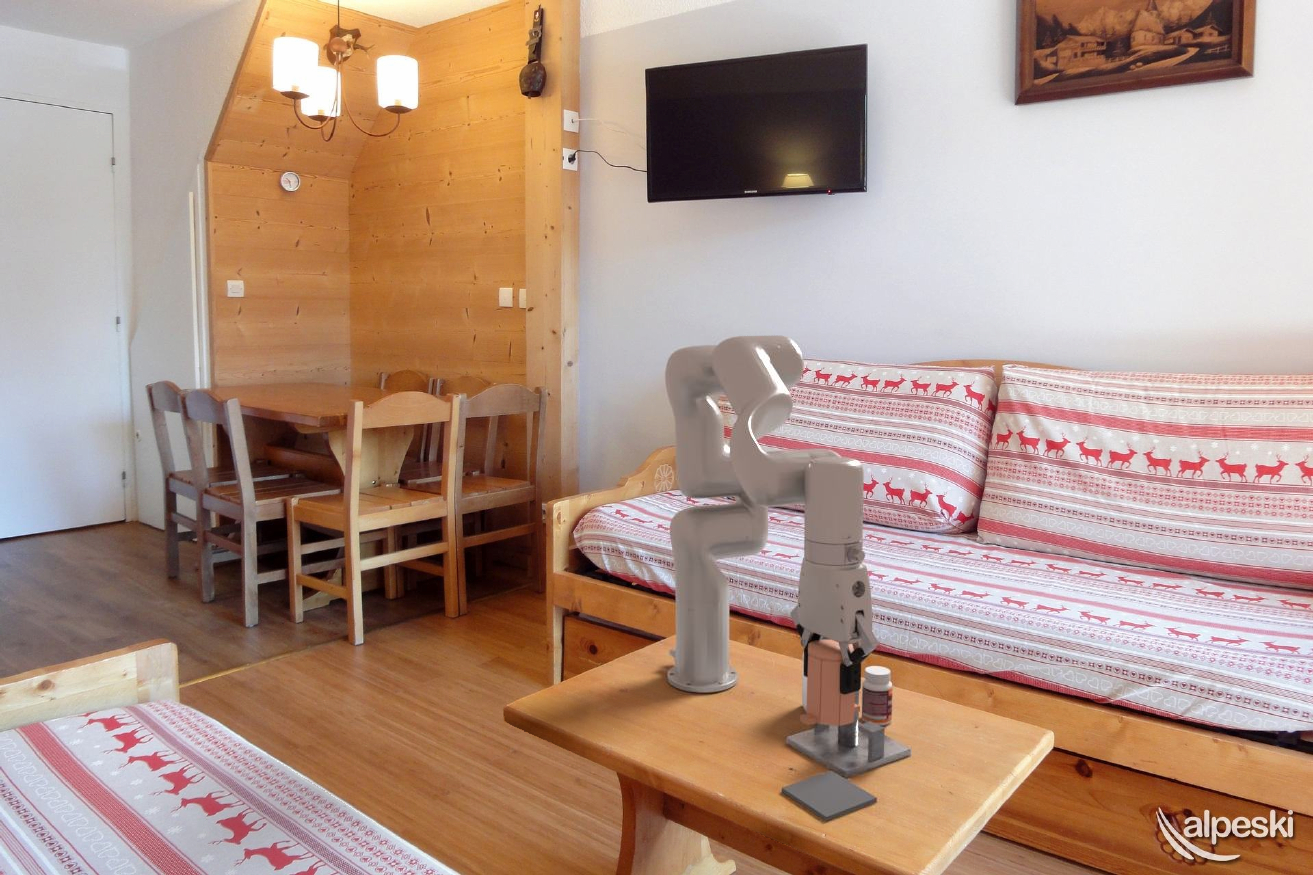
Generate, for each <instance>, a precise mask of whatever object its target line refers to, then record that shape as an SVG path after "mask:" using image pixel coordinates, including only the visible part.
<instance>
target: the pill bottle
mask: <svg viewBox="0 0 1313 875" xmlns="http://www.w3.org/2000/svg"><path fill="white" fill-rule="evenodd" d="M893 691H894V690H893V684H892V682H891V670H890V669H889V668H888V667H884V666H881V665H879V666H878V665H871V666H867V667H865V669H864V679H863V681H861V719H862V721H863V722H864V723H867V722H870V721H871V722H873V723H875V724H877V725H879V726H881V727H883V726H887V725H889V724H890V723H891V722H892V719H893V718H892V716H893V715H892V714H893Z"/></svg>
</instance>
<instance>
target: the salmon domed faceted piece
mask: <svg viewBox="0 0 1313 875" xmlns="http://www.w3.org/2000/svg"><path fill="white" fill-rule="evenodd" d="M849 649H850V653H852V652H853V651H854V649H853V645H852V644H849ZM843 663H844V662H843V658H842V654H841V650H840V647H839V643H838V642H836V641H833V640H816V641H813V642H810V643H809V644H808V679H807V713H804V714H799V716H800V717H799V721H800V722H802V723H803V724H805V725H807V726H811V725H814V724H815V723H818V724H824V725H834V726H842V725H845V724H849V723H853V722H854V713H857V712H859V713H860V712H861V705H860V704H859V705H857V704H855V692H852V693H849V694H845V695H844V694H841V693H840V664H843Z"/></svg>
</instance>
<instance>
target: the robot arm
mask: <svg viewBox="0 0 1313 875" xmlns="http://www.w3.org/2000/svg"><path fill="white" fill-rule="evenodd" d="M804 364H805V363H804V356H803V354H802V351H801V349H800V347H799V346H798V344H797V343H796V342H795V341H794V340H793V339H791V338H790V337H787V336H785V335H739V336H732V337H729V338H726V339H724V340H721V342H719V343H718V344H712V345H711V344H710V345H707V344H706V345H693V346H692V345H691V346H686V347H682V348H679V349H678V350H675V351H674V352H672V354H670V356H669V357H668V359H667V362H666V366H665V373H664V376H665V377H664V380H665V381H664V382H665V389H666V393H667V396H668V400H669V403H670V407H671V409H672V413H673V417H674V426H675V463H676V465H675V466H676V467H675V468H676V479H677V486H678V489H679V491H680V493H681V494H682V495H683V496H685V497H686V498H690V499H696V500H697V499H700V500H701V499H702V500H703V499H717V498H718V499H719V498H730V497H734V500H735V501H734V502H735V503H734V502H733V503H726V504H707V505H699V506H698V505H696V506H691V507H687V508H684V509H681V510H679V511H678V512H677V513H676V514H674V515H673V517H672V518H671V521H670V523H669V539H670V544H671V549H672V557H673V562H674V563H673V565H674V576H675V577H674V578H675V581H674V583H675V648H671V649H670V650H669V652H668V654H669V656H670V657H672V658H674V666H672V667H671V668H670V669H668V671H667V677H666V678H667V682H668V683H669V684H670V685H671V686H673V687H674V688H676V689H679V690H681V691H685V692H691V693H698V694H699V693H701V694H702V693H704V694H706V693H707V694H708V693H716V692H722V691H725V690H728V689H730V688H732V687H734V686H735V685H736V684H737V683H738V678H739V675H738V674H739V673H738V671H737V670H736V669H735V668H733V667H732V666H731V665H730V585H729V582H728V578H727V577H726V575H725V574H724V572H723V571H722V570H721V569H720V568H719V567H718V566H717V561H719V560H724V559H733V558H741V557H742V558H743V557H748V556H755V555H757V554H759V553H761V552H762V551H763V550H764V549H765V547H766V545H767V543H768V537H769V536H768V535H769V511H768V509H769V508H772V507H783V506H784V507H785V506H793V505H794V506H795V505H804V519H803V520H804V526H803V529H804V530H803V531H804V532H803V534H804V536H803V537H804V538H803V540H804V542H803V543H804V545H803V550H804V552H803V555H804V556H803V558H802V561H801V562H802V563H801V567H800V573H799V579H798V580H799V581H798V589H797V591H798V592H797V605H795V607H794V608H793V609H792V610H791V611H790V617H791V619H792V620H793V622H794V626H795V627H796V631H797V633H798V635H799V637H800V645H801V647H802V648H803V652H804V676H805V677H808V644H809V643H810V642H813V641H816V640H822V638H823V637H826V638H828V639H831V640H833V641H836V642H838V643H839V647H840V650H841V654H842V658H843V662H844V663H843V664H840V693H841V694H844V695H845V694H849V693H852V692H856V691H859V692H860V690H862V663H865V661H866V659H867V658H868V657H869V656H870V654H871V653H872V652H873V651H874V650H875V649H876V648H877V647H879V641H878V639H877V637H876V636H875V634H874V632H873V604H872V602H873V601H872V590H871V583H870V582H871V581H870V578H869V572H868V569H867V565H865V564H864V563H863V561H864V559H865V558H866V552H865V551H863V542H864V541H863V536H864V535H863V534H864V532H863V530H864V528H863V525H864V523H863V522H864V479H865V476H864V473H865V471H864V468H863V465H862V463H861V462H860V461H859V460H857V459H855V458H851V457H846V456H845V457H844V456H841V455H840V454H839V453H838V452H836V451H834V450H832V449H828V448H807V449H801V448H800V449H787V450H773V451H764V449H762V448H761V446H760V444H759V443H758V440H760V439H762V438H764V437H765V436H767V435H769V434H771V433H773V432H774V431H776V430H777V429H779V428H780V427H782V426H783V425H784V423H786V421H787V420H788V419H789V418H790V416H791V414H792V412H793V407H794V402H793V401H794V400H793V397H792V396H793V395H792V394H791V393H790V391H789V390H788V389H791V388H793V387H795V386H796V385H797V384H799V382H800V380H801V379H802V377H803V374H804V368H805V367H804ZM710 396H725V397H726V398H727V400H728V402H729V404H730V405H731V407H732V409H733V411H734V413H735V415H736V417H737V418H736V420H735V422H734V423H733V425H732V426H733V427H732V428H731V432H730V434H729V442H726V440H725V421H724V416H723V414H722V412H721V409H720V408H719V407H718V405H717V404H716V403H715V401H714V400H713V399H712V398H711V397H710ZM849 644H852V645H853V649H854V651H853V652H852V653H850V649H849ZM804 647H805V648H804Z"/></svg>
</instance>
